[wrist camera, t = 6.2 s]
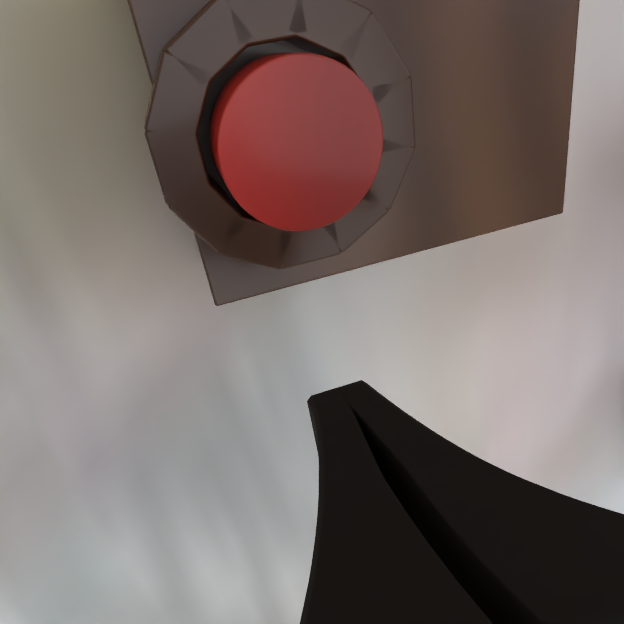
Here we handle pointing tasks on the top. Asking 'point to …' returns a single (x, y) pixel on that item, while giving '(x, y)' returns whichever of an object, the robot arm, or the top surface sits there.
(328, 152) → the red push button
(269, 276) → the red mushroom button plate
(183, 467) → the top surface
